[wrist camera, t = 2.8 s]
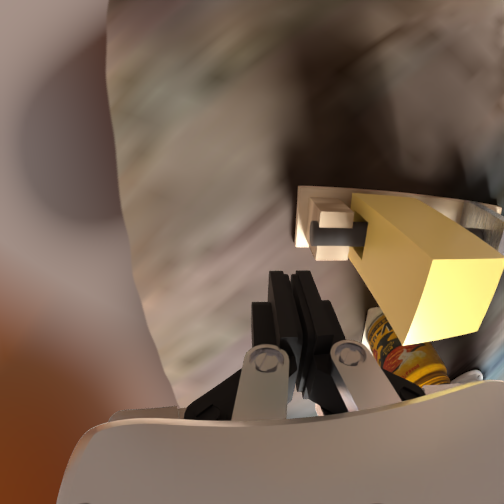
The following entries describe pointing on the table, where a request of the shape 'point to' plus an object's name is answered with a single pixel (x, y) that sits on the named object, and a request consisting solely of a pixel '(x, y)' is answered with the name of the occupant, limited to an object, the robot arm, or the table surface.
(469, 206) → the grey slab
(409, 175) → the table surface
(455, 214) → the cord rig
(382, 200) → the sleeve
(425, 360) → the condiment
